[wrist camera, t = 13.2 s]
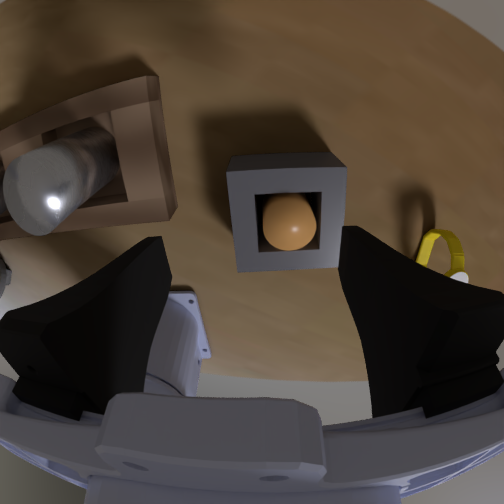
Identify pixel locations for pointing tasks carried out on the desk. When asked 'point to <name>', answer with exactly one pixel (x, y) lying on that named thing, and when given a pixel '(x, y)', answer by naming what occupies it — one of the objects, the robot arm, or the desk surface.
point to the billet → (0, 201)
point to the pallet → (128, 146)
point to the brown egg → (288, 220)
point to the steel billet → (59, 178)
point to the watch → (455, 251)
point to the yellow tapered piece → (4, 277)
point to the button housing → (286, 181)
